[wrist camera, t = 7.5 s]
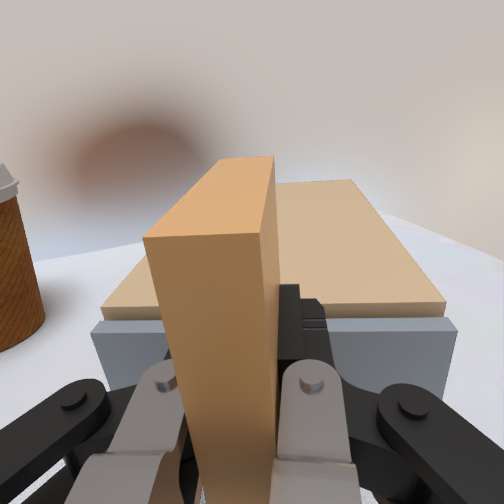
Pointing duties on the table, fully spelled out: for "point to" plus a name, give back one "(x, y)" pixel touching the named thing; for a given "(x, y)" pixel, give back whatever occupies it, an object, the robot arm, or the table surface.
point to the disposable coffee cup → (16, 271)
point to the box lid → (321, 260)
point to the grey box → (246, 329)
